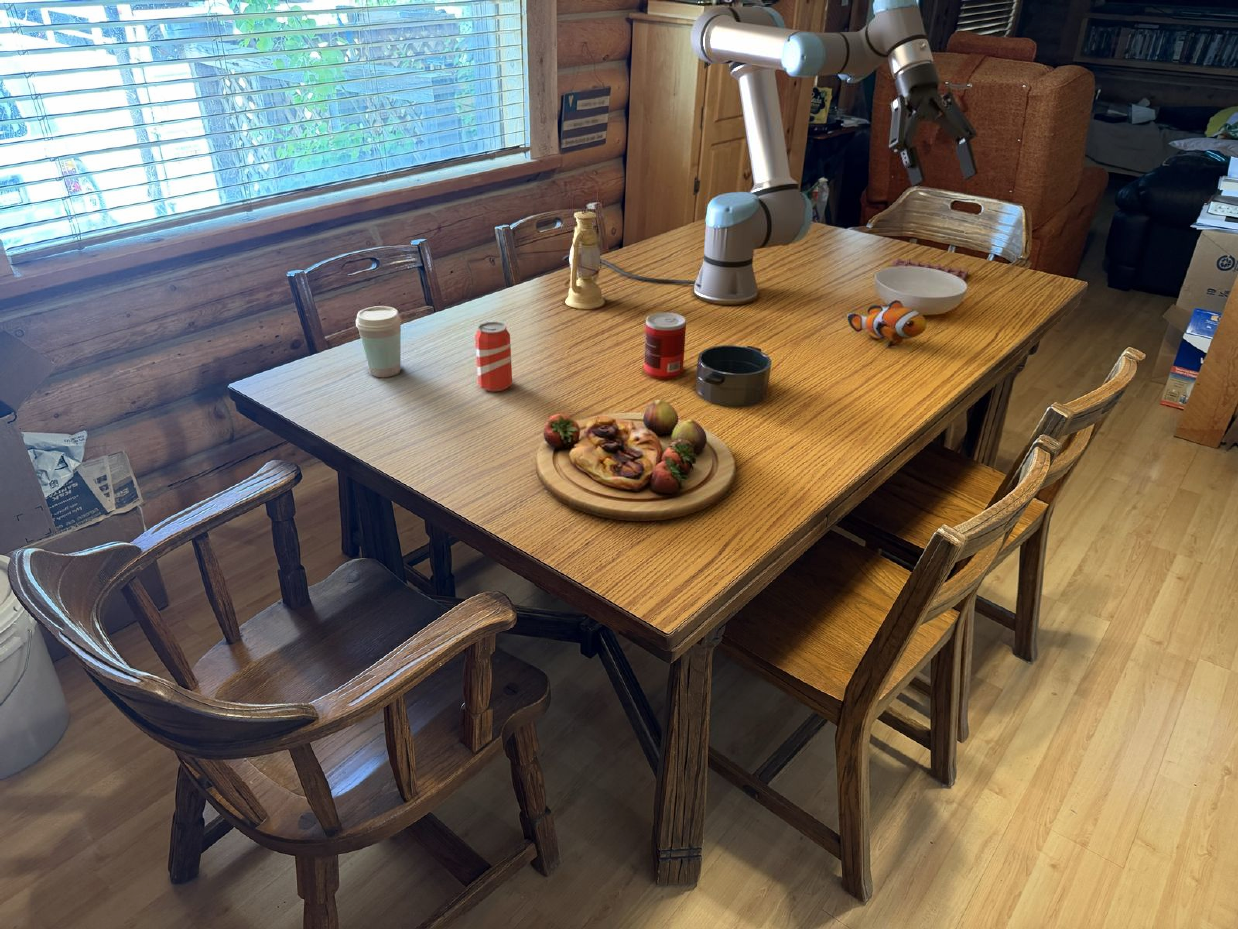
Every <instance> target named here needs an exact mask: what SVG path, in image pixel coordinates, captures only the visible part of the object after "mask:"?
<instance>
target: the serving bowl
mask: <svg viewBox="0 0 1238 929" xmlns="http://www.w3.org/2000/svg"><path fill="white" fill-rule="evenodd" d="M873 279H874V282H873V284H874V290H875V293H876V295H877V297H878V298H879V299H880V300H881V301H882V302H883V303H884V304H885V305H886V306H887V305H889V304H890V303H891V302H893V301H894V300H898V301H900V302H901V303H902V305H903V306H904V307H905V308H910V309H913V310H915V311H917V312H918V313H920V314H921V315H924V316H935V315H936V316H937V315H941V314H945V313H947V312H950V311H952V310H954V309H955V308H957V307H958V306H959V305H960V304H961V303H962V302H963V300H964V298H965V296H966V294H967V292H968V289H969V287H968V283H966V281H965V280H964V281H963V280H962V279H961V278H959V277H957V276H955V275H953V274H950V273H947V272H944V271H940V270H936V269H930V268H924V267H914V266H898V267H891V266H890V267H885V268H882V269H880V270H878V271H877V272H876V273H875V274H874V278H873Z"/></svg>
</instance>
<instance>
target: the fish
mask: <svg viewBox="0 0 1238 929" xmlns="http://www.w3.org/2000/svg"><path fill="white" fill-rule="evenodd" d="M867 314H868V316H865V315H860V314H858V313H855V312H849V313H847V316H846V319H847V322H848V325H849V326H850V328H851V329H852V330H853V331H854V332H856V333H859V332H861V331H864V330H865V331H868V333H869V337H870V339H871V340H872V341H879V340H880V341H881V340H884V339H889V340H890V341H889V343H888V346H887V347H888V348H889V349H890V348H892V347H895V346H897V345H898V344H900V343H902V342H903V341H904V340H905V341H907V340H910V339H914V338H916V337H918V336H920V335H921V334H923V333H924V332H925V331H926V329H927V321H926V315H921V314H920V313H918V312H917V311H915V310H913V309H910V308H905V307H904V306H903V305H902V303H901V302H900V301H898V300H894V301H893V302H891V303H890V304H889V305H886V306H885V305H878V304H876V305H871V306H869V307H868V309H867Z"/></svg>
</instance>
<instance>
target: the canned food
mask: <svg viewBox="0 0 1238 929" xmlns="http://www.w3.org/2000/svg"><path fill="white" fill-rule="evenodd" d="M686 319H687V318H685V316H683V315H681V314H678V313H674V312H665V311H664V312H656V313H652V314H650V315H648V316H647V317H646V319H645V330H644V331H645V332H644V360H643V361H644V363H643V365H644V366H643V368H644V369H643V370H644V371H645V374H646V375H647V376H648V377H650V378H652V379H656V380H673V379H676V378H678V377H680V376H681V375H682V373H683V371H684V364H685V363H684V361H685V346H686V332H687V331H686V330H687V320H686Z"/></svg>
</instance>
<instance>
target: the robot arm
mask: <svg viewBox="0 0 1238 929" xmlns="http://www.w3.org/2000/svg"><path fill="white" fill-rule="evenodd" d="M872 8H873V15H874V18H872V19H871V20H870V22H869V23H867V24H866V25H864V27H863V28H862V29H861V30H858V31H843V32H841V31H840V32H838V31H837V32H836V31H835V32H814V31H807V30H799V29H790V28H787V26H786V24H785V20H784V19H783V17H782V15H781V14H780V12H778V11H777V10H775V9H774V8H773V7H768V6H762V5H753V6H727V7H726V6H718V7H712V8H709V9H707V10H705V11H704V12H702V13H701V14H700V15H699V16H698V17H697V18H696V19H695V21H694V23H693V25H692V28H691V31H690V45H691V47H692V51H693V53H694V54H695V55H696V56H697V57H698V58H699V59H700V60H702V61H703V62H705V63H709V64H716V65H717V64H719V65H721V64H722V65H724V64H726V65H727V64H728V68H729V74H730V77H732V78H734V80H736V81H737V82H738V83H737V84H738V88H739V95H740V101H741V109H742V115H743V121H744V128H745V133H746V140H747V141H746V142H747V148H748V153H749V154H748V155H749V160H750V166H751V172H752V179H753V186H752V188H751V190H749V192H748V191H747V192H746V191H739V192H735V191H732V192H727V193H722V194H718V195H717V196H715V197H713V198H712V199H711V200H710V201H709V203H708V204H707V210H706V216H705V218H704V219H705V221H704V222H705V232H704V246H703V247H704V248H703V260H702V261H703V262H702V265H701V267H700V270H699V272H698V275H697V277H696V280H689V279H688V280H687V279H667V278H666V279H664V278H653V277H646V276H641V275H637V274H632V273H630V272H627V271H624V270H623V269H621V268H620V267H618V266H617V265H616V264H612V263H611V262H609V261H607V260H605V259H602V258H600V260H601V264H603V265H606V266H608V268H611V269H613V270H615V271H616V272H618V273H619V274H620V275H622V276H626V277H628V278H631V279H634V280H639V281H646V282H652V283H663V284H681V285H683V284H685V285H694V286H693V295H694V296H695V298H697V299H699V300H700V301H702V302H706V303H708V304H712V305H720V306H740V305H745V304H746V305H747V304H750V303H752V302H754V301H756V299H757V297H758V285H757V280H756V279H757V278H756V275H755V272H754V266H753V264H754V263H753V261H754V252H755V250H760V249H767V248H773V247H779V246H781V247H784V246H789V245H790V244H795V243H798V242H800V241H802V240H803V239H804V238H805V237H806V236H807V234H808V232H809V230H810V229H811V226H812V223H813V217H814V211H813V205H812V202H811V200H810V198H808V195H807V194H805V193H803V192H801V191H800V189H799V188H800V187H799V183H798V182H797V180H795V179H793V178H792V177H791V172H790V166H789V159H788V152H787V146H786V139H785V133H784V126H783V118H782V112H781V104H780V98H779V92H778V85H777V78H776V71H777V70H781V71H785V72H786V74H787V75H788V76H791V77H797V78H798V77H799V78H810V77H819V76H838V77H839V78H840V80H841V81H845V82H847V83H848V84H856V83H858V82H860V81H861V80H864V79H865V78H867V77H869V75H871V74H872V73H873V72H874V71H875V70H876V69H878V68H879V67H880V66H881V65H882V64H883V63H884V62H886V61H888V64H889V68H890V72H891V76H892V79H894V85H895V89H896V92H897V97H896V98H894V99H893V100H892V101H890V110H891V120H890V131H889V132H890V133H889V140H888V141H889V142H888V148H889V149H890V151H894V153H895V154H896V155H897V156H898V155H901V159H902V163H903V166H904V168H905V169H906V171H907V175H908V178H909V181H910V184H911V185H910V186H911V187H912V188H915V187H917V186H918V185H920V184H922V183H923V182H925V181H926V177H925V173H924V170H923V166H922V163H921V159H920V156H919V152H918V150H917V146H916V145H913V141H914V139H915V135H916V133H917V129H918V127H919V124H920V123H921V122H931V123H932V124H937V126H939V128H940V129H941V130H943V131H944V132H945V134H947V136H948V137H949V138H950V139H952V141H953V142H954V143H955V144H956V146H955V147H954V149H955V152H956V155H957V159H958V163H959V166H960V169H961V172H962V176H963V180H965V181H966V180H968V179H971V178H972V177H974V176H976V175H977V174H979V172H978V168H977V165H976V161H975V154H974V151H973V150H974V149H973V147H972V143H971V140H973V139H975V137H977V135H978V132H977V131H976V129H975V128H974V126H973V125H972V123H971V122H970V120H969V119H968V118H967V115H966V114H965V113H964V111H962V109H961V107H960V105H959V104H958V103H957V101H956V99H955V96H954V93H953V92H952V91H950V90H949V91H947V92H946V93H945V94H941V93H940V92H939V89H938V88H939V85H940V76H939V74H938V70H937V66H936V65H935V63H934V58H933V54H932V51H931V47H930V44H929V40H928V36H927V34H926V30H925V26H924V22H923V18H922V14H921V9H920V5H919V4H918V1H917V0H874V1H873V3H872ZM912 145H913V146H912ZM569 257H570V253H569V254H567V255H565V256H564V257H563V258H562V259H561V260H562V261H567V260H569Z"/></svg>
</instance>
